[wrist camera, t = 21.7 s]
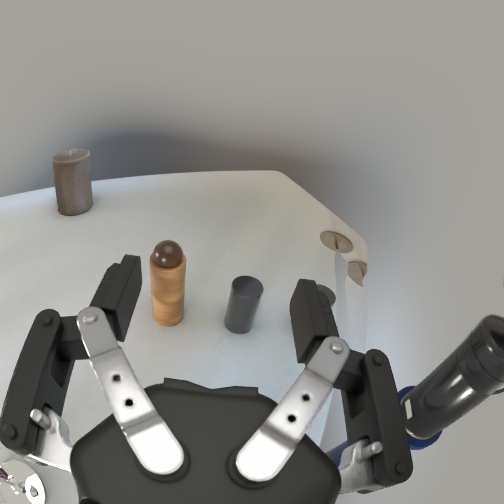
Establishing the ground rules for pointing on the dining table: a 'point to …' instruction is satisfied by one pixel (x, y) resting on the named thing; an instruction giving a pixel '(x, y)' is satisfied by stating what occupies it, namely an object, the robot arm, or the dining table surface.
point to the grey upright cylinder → (243, 304)
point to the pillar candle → (73, 181)
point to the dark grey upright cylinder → (327, 294)
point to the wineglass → (21, 484)
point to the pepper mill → (168, 282)
